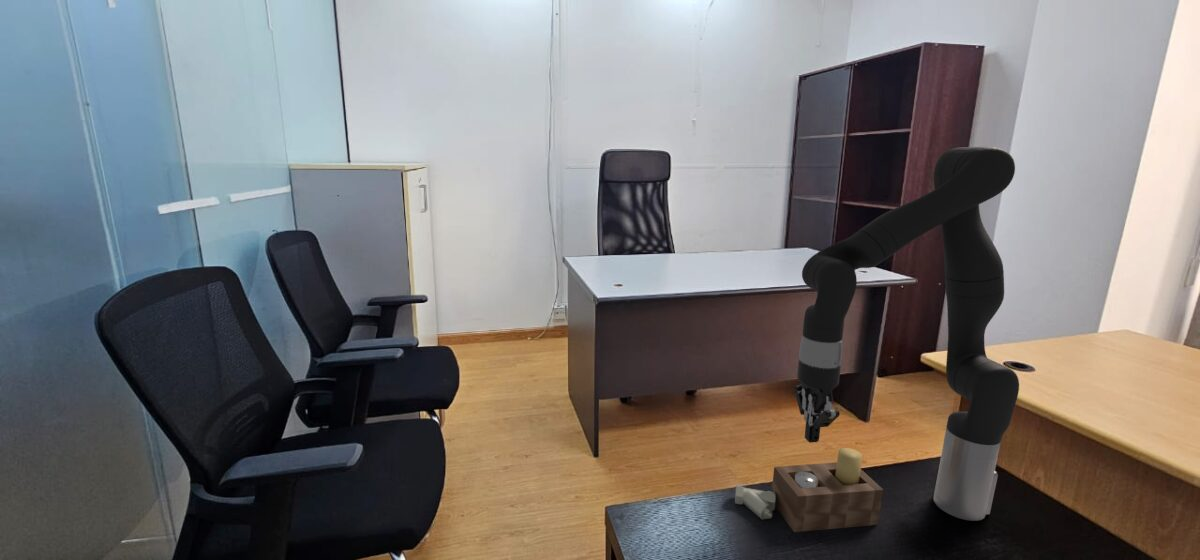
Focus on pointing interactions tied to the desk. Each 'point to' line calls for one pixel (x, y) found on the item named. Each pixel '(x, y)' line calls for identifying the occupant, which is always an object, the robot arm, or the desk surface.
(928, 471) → the desk surface
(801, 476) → the steel peg
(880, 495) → the socket block
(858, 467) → the mustard peg
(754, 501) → the pipe fitting
